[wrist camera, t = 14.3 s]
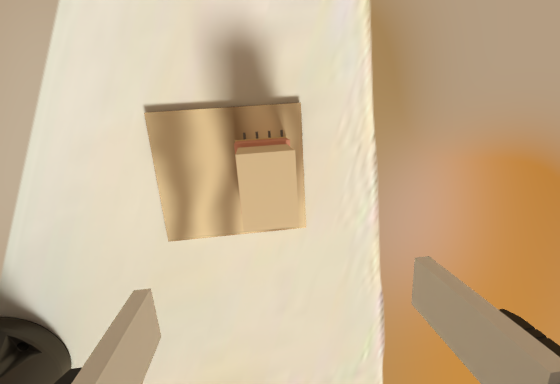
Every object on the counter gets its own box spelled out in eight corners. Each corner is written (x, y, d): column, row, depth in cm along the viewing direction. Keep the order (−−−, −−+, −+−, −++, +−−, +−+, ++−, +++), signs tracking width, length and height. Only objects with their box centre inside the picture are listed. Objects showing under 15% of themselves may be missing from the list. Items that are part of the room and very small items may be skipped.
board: (169, 239, 36) (168, 241, 35) (145, 112, 32) (144, 112, 31) (305, 226, 38) (306, 227, 37) (299, 102, 33) (300, 102, 33)
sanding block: (241, 205, 35) (238, 237, 26) (234, 140, 33) (228, 149, 23) (289, 200, 36) (304, 230, 26) (286, 136, 34) (300, 143, 24)
